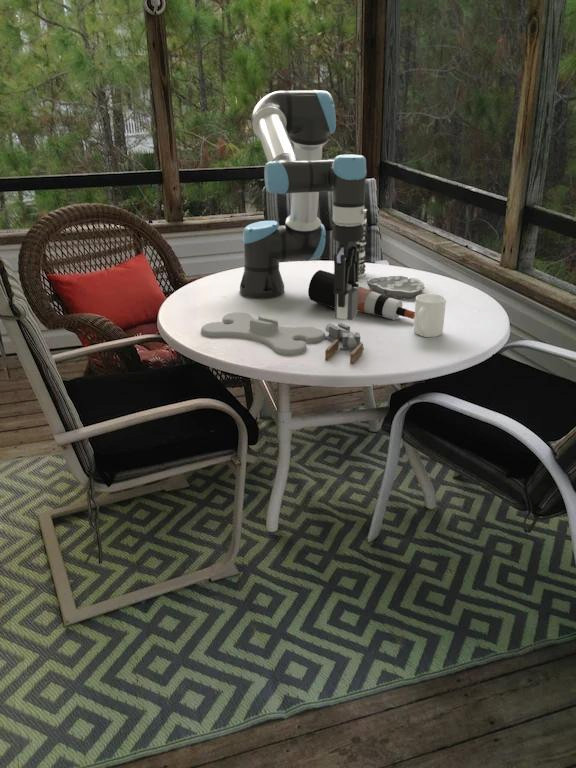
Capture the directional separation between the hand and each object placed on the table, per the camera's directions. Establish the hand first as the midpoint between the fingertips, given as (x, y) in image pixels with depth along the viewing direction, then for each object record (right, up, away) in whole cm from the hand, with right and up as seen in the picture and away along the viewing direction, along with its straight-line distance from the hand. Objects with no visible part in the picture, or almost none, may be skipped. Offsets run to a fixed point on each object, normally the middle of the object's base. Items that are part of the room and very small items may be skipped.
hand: (345, 314), depth 168 cm
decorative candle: (+9, +22, +74) cm, 78 cm away
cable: (+8, +4, +37) cm, 38 cm away
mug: (+24, -4, +19) cm, 31 cm away
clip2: (+2, -8, +11) cm, 14 cm away
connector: (0, 0, 0) cm, 0 cm away
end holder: (0, -10, +5) cm, 12 cm away
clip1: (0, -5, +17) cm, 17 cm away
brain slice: (+23, +14, +56) cm, 62 cm away
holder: (-22, -4, +21) cm, 30 cm away
